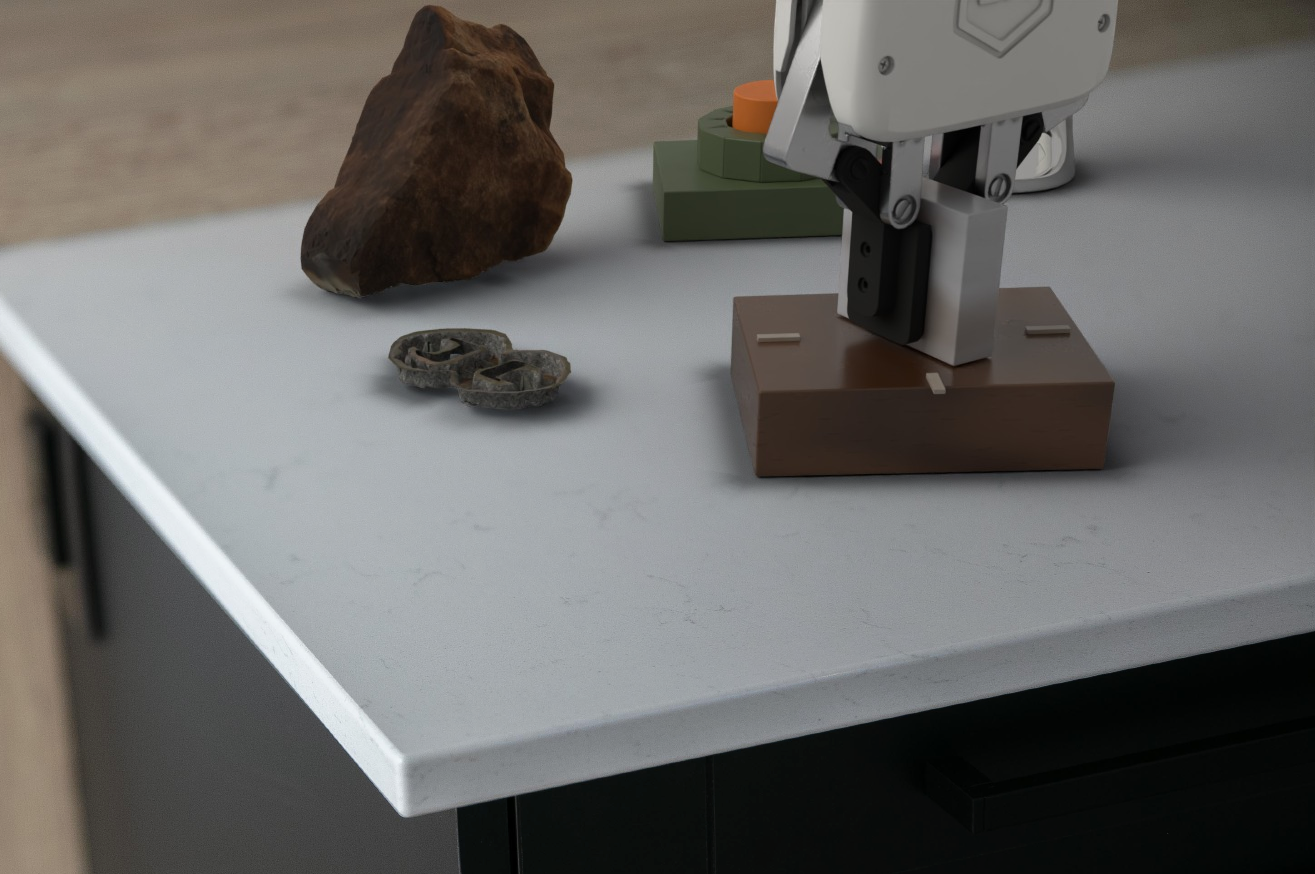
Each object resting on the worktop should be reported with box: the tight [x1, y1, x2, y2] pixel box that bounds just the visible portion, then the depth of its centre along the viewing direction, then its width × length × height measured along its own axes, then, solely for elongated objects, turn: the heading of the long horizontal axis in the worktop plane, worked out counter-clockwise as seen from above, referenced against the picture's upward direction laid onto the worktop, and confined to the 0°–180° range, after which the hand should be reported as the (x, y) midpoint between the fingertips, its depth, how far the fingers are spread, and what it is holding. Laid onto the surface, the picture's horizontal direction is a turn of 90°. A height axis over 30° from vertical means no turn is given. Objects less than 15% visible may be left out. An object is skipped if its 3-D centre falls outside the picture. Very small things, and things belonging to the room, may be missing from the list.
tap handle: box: [837, 159, 1009, 366], centre depth 65 cm, size 6×2×5 cm, turn 25°
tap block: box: [730, 286, 1116, 478], centre depth 67 cm, size 11×10×3 cm
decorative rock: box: [299, 4, 573, 299], centre depth 81 cm, size 12×6×11 cm, turn 120°
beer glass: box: [1012, 114, 1076, 194], centre depth 87 cm, size 7×7×15 cm
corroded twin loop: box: [387, 327, 572, 410], centre depth 73 cm, size 5×8×1 cm, turn 38°
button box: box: [652, 105, 883, 242], centre depth 88 cm, size 10×8×4 cm
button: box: [732, 79, 778, 134], centre depth 87 cm, size 4×4×2 cm
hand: (913, 320), depth 66 cm, fingers closed on tap handle
